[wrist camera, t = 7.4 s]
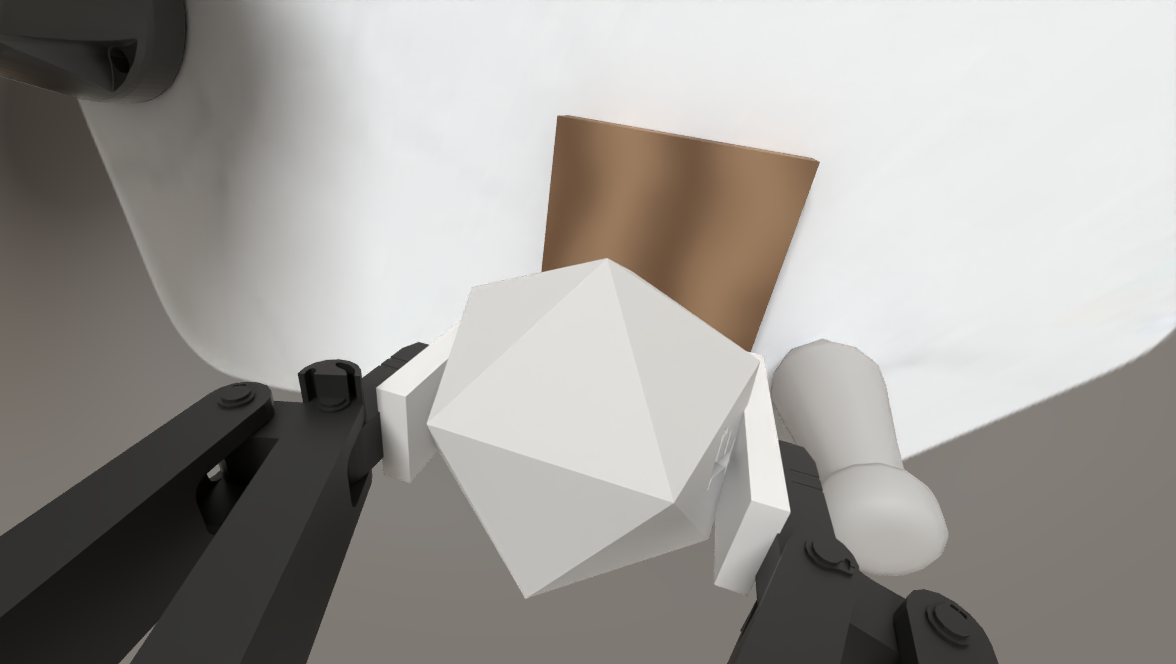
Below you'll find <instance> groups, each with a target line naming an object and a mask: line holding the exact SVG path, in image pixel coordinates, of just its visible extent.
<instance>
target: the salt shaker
mask: <svg viewBox="0 0 1176 664" xmlns="http://www.w3.org/2000/svg"><path fill="white" fill-rule="evenodd" d="M771 400H772V402H773V403H774V405H775V407H776V409H777V411H778V413H779V415H780V417H781V418H782V420H783V422H784V423H785V425H786V427H787V429H788V430H789V432H790V434H791V436H792V438H793V439H794V441H795V443H796V445H798V446H802V447H804V448H805V449H806V451H807V452H808V453H809V455H810V456H811V457H812V458H813V460H814V461H815V462H816V466H817V470H818V473H819V477H820V478H819V480H820V481H821V485H822V488H823V493H824V496H825V499H826V503H827V507H828V510H829V514H830V518H831V521H832V525H833V529H834V533H835V536H836V539H837V540H839V541H840V542H842V543H843V544H844V545H845V546H846V547H847V548H848V550H849V551H850V552H851V553H852V554H853V555H854V557H855V559H856V561H857V563H858V565H859V570H861V571H865V572H868V573H871V574H874V575H886V576H902V575H905V574H909V573H912V572H915V571H919V570H922V569H923V568H925V567H926V566H927V565H929V564H930V563H932V561H934V560H935V559H937V558H938V557H939V556H940V555H941V554H942V553H943V551H944V548H945V545H946V541H947V538H948V536H949V534H948V530H947V527H946V523H945V520H944V518H943V515H942V512H941V509H940V507H939V504H938V501H937V500H936V498H935V496H934V495H933V493H932V492H931V490H930V489H929V488H928V487H927V486H926V485H925V484H923V483H922V482H921V481H919V480H918V479H916V478H915V477H914V476H913V475H911V474H910V473H909V472H907V471H906V470H904V468H903V464H902V460H901V456H900V452H899V448H898V443H897V438H896V433H895V428H894V423H893V418H892V413H891V408H890V403H889V398H888V393H887V388H886V384H885V382H884V379H883V376H882V374H881V371H880V369H879V366H878V365H877V364H876V363H875V362H874V361H873V360H872V359H870V358H869V357H868V356H866V355H865V354H864V353H863V352H861V351H860V350H859V349H857V348H856V347H852V346H848V345H844V344H839V343H835V342H831V341H828V340H825V339H821V340H818V341H815V342H812V343H809V344H806V345H803V346H800V347H797V348H794V349H791V351H790V352H789V353H788V354H787V355H786V357H785V358H784V360H783V361H782V362H781V364H780V365H779V367H778V368H777V370H776V371H775V372H774V374H773V382H772V389H771Z"/></svg>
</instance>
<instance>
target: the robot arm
mask: <svg viewBox="0 0 1176 664" xmlns="http://www.w3.org/2000/svg"><path fill="white" fill-rule="evenodd" d="M184 45H185V10H184V2H183V0H0V76H1V77H5V78H8V79H12V80H16V81H19V82H23V83H26V84H30V85H33V86H37V87H40V88H44V89H48V90H51V91H55V92H58V93H62V94H66V95H69V96H72V97H76V98H80V99H84V100H90V101H97V102H132V103H135V102H144V101H148V100H151V99H153V98H155V97H157V96H159V95H160V94H162V93H163V92H164V91H165V90H166V89H167V88H168V87H169V86H170V84H171V83H172V81H173V80H174V78H175V76H176V74H177V72H178V70H179V67H180V64H181V61H182V56H183V52H184ZM460 322H461V320H460V321H459V322H458V323H456V324H455V325H454V326H453V327H451V328H450V329H449V330H448V331H446V332H445V333H444V334H443V335H441V336H440V337H439V338H438V339H436V340H435V341H434V342H433V343H432V344H430V345H428V344H424V343H420V342H418V343H415V344H412V345H410V346H407V347H404V348H402V349H401V350H399V351H398V352H397V353H395V354H394V355H393V356H391V358H390V359H387V360H386V361H384V362H383V363H382V364H381V366H378V367H376V368H375V369H374V370H372V371H371V372H370V373H368V374H367V375H366V376H364V377H363V378H362V375H361V369H360V368H359V366H358V365H357V364H355V363H353V362H351V361H346V360H340V359H337V360H325V361H320V362H316V363H313V364H311V365H309V366H307V367H305V368H304V369H302V370H301V371H300V372H299V373H298V377H299V383H300V388H301V393H302V399H303V403H300V402H283V401H273V397H272V392H271V390H270V389H269V387H268V386H267V385H264V384H261V383H256V382H241V383H234V384H231V385H228V386H225V387H221V388H219V389H217V390H215V391H213V392H212V393H210V394H208V395H207V396H205V397H204V398H202V399H201V400H199V401H198V402H196V403H195V404H193V405H192V406H190V407H189V408H188V409H186V410H185V411H183V412H182V413H180V414H179V415H177V416H176V417H174V418H173V419H171V420H170V421H169V422H167V423H166V424H164V425H163V426H161V427H160V428H158V429H157V430H155V431H154V432H152V433H151V434H149V435H148V436H147V437H145V438H144V439H142V440H141V441H139V442H138V443H136V444H135V445H134V446H132V447H130V448H129V449H128V450H126V451H125V452H123V453H122V454H120V455H119V456H117V457H116V458H114V459H113V460H111V461H110V462H109V463H107V464H106V465H104V466H103V467H101V468H100V469H98V470H97V471H95V472H94V473H92V474H91V475H89V476H88V477H86V478H85V479H84V480H82V481H81V482H79V483H78V484H76V485H75V486H73V487H72V488H70V489H69V490H68V491H66V492H65V493H63V494H62V495H60V496H59V497H57V498H56V499H54V500H53V501H51V502H50V503H48V504H47V505H45V506H44V507H43V508H41V509H40V510H38V511H37V512H35V513H34V514H32V515H31V516H29V517H28V518H26V519H25V520H24V521H22V522H21V523H19V524H18V525H16V526H15V527H13V528H12V529H10V530H9V531H7V532H6V533H4V534H3V535H2V536H0V664H118V663H120V662H121V660H122V659H123V658H124V657H125V656H126V655H127V654H128V653H129V652H130V651H131V650H132V649H133V647H134V646H135V645H136V644H137V643H138V642H139V641H140V640H141V639H142V637H144V636H145V634H146V633H147V632H148V631H149V630H150V629H151V628H152V627H153V626H154V625H155V624H156V623H157V624H156V625H155V627H154V628H153V630H152V631H151V633H150V634H149V636H148V637H147V639H146V640H145V642H144V643H143V645H142V646H141V648H140V649H139V651H138V653H137V654H136V655H135V657H134V658H133V660H132V661H131V663H130V664H306V663H307V660H308V657H309V654H310V652H311V649H312V646H313V643H314V640H315V638H316V635H317V632H318V630H319V627H320V624H321V621H322V618H323V615H324V613H325V610H326V607H327V604H328V602H329V599H330V596H331V594H332V591H333V588H334V585H335V583H336V580H337V577H338V574H339V571H340V568H341V566H342V563H343V560H344V558H345V555H346V552H347V549H348V547H349V544H350V541H351V538H352V536H353V533H354V530H355V527H356V525H357V522H358V519H359V516H360V513H361V511H362V508H363V505H364V502H365V500H366V497H367V494H368V491H369V489H370V486H371V483H372V468H373V467H374V466H375V465H376V464H377V463H378V462H379V461H380V460H381V459H383V471H384V475H387V476H390V477H393V478H396V479H399V480H402V481H405V482H408V483H411V482H412V480H413V479H414V478H415V477H416V476H417V475H418V473H419V472H420V471H421V469H423V467H424V466H425V465H426V464H427V462H428V461H429V460H430V459H431V458H432V456H433V455H434V454H435V453H436V452H437V450H438V448H437V446H436V444H435V442H434V439H433V437H432V435H431V433H430V430H429V428H428V426H427V421H428V418H429V415H430V412H431V409H432V406H433V403H434V400H435V397H436V394H437V391H438V388H439V385H440V382H441V379H442V376H443V373H444V370H445V367H446V364H447V361H448V358H449V355H450V352H451V349H452V346H453V343H454V340H455V337H456V334H457V331H458V328H459V325H460ZM748 353H750V352H748ZM750 354H751V355H752V356H754V357H755V358H757V359H758V360H760V364H759V368H758V371H757V375H756V378H755V382H754V385H753V389H752V392H751V396H750V399H749V402H748V405H747V407H746V408H745V410H744V413H743V416H742V420H741V423H740V427H739V430H738V434H737V437H736V441H735V444H734V448H733V451H732V455H731V458H730V462H729V465H728V469H727V472H726V476H725V479H724V483H723V486H722V490H721V493H720V497H719V500H718V504H717V507H716V511H715V541H714V542H715V543H714V585H717V586H720V587H723V588H726V589H729V590H732V591H735V592H738V593H741V594H744V595H748V594H749V592H750V590H751V588H752V586H753V585H754V583H755V581H756V592H757V600H756V602H755V604H754V606H753V608H752V610H751V612H750V614H749V616H748V617H747V619H746V621H745V623H744V625H743V627H742V629H741V634H740V636H739V639H738V641H737V643H736V645H735V648H734V650H733V653H732V655H731V656H730V659H729V661H728V663H727V664H998V661H997V658H996V656H995V653H994V650H993V647H992V645H991V643H990V641H989V639H988V637H987V635H986V633H985V632H984V630H983V628H982V627H981V626H980V625H979V624H978V623H977V622H976V620H975V619H974V618H973V617H972V616H971V615H970V614H969V613H968V612H966V611H965V610H964V609H963V608H961V607H960V606H959V605H958V604H957V603H955V602H954V601H952V600H950V599H948V598H946V597H945V596H943V595H941V594H939V593H935V592H932V591H929V590H925V589H923V590H914V591H912V592H911V593H910V594H909V596H907V598H906V599H905V598H903V597H901V596H899V595H897V594H896V593H894V592H892V591H891V590H889V589H887V588H885V587H883V586H882V585H880V584H878V583H876V582H875V581H873V580H871V579H870V578H869V577H867V576H865V575H864V574H863V573H862V572H860V571H859V565H858V563H857V561H856V559H855V557H854V555H853V554H852V553H851V552H850V551H849V550H848V548H847V547H846V546H845V545H844V544H843V543H842V542H840V541H839V540H837V539H836V536H835V533H834V529H833V525H832V521H831V518H830V514H829V510H828V507H827V503H826V499H825V496H824V493H823V488H822V485H821V481H820V480H819V478H820V477H819V473H818V470H817V466H816V462H815V461H814V460H813V458H812V457H811V456H810V455H809V453H808V452H807V451H806V449H805V448H804V447H802V446H798V445H794V444H791V443H787V442H783V441H780V440H778V437H777V431H776V426H775V420H774V414H773V409H772V403H771V397H770V391H769V386H768V380H767V374H766V369H765V363H764V357H763V355H759V354H754V353H750ZM218 463H219V466H220V471H219V472H218V473H217V474H216V475H215V476H213V477H211V478H208V476H207V473H208V472H209V471H210V470H211V469H213V468H214V467H215V466H216V465H217V464H218ZM158 620H159V621H158Z"/></svg>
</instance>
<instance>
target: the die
mask: <svg viewBox="0 0 1176 664" xmlns="http://www.w3.org/2000/svg"><path fill="white" fill-rule="evenodd" d="M759 364H760V360H758V359H757V358H755V357H754V356H752V355H751V354H750V353H748V352H747V351H745V350H744V349H742V348H741V347H740V346H738V345H737V344H735V343H734V342H732V341H731V340H730V339H728V338H727V337H725V336H724V335H722V334H721V333H720V332H718V331H717V330H715V329H714V328H712V327H711V326H710V325H708V324H707V323H705V322H704V321H702V320H701V319H700V318H698V317H697V316H695V315H694V314H692V313H691V312H689V311H688V310H687V309H685V308H684V307H682V306H681V305H679V304H678V303H677V302H675V301H674V300H672V299H671V298H669V297H668V296H667V295H665V294H664V293H662V292H661V291H659V290H658V289H657V288H655V287H654V286H652V285H651V284H649V283H648V282H647V281H645V280H644V279H642V278H641V277H639V276H638V275H637V274H635V273H634V272H632V271H631V270H629V269H627V268H625V267H623V266H621V265H619V264H617V263H615V262H613V261H612V260H610V259H608V258H605V259H601V260H596V261H591V262H587V263H582V264H577V265H573V266H568V267H564V268H559V269H554V270H550V271H545V272H540V273H536V274H531V275H526V276H522V277H517V278H513V279H508V280H503V281H499V282H494V283H489V284H485V285H480V286H475V287H472V288H471V292H470V295H469V298H468V301H467V304H466V307H465V310H464V313H463V316H462V319H461V322H460V325H459V328H458V331H457V334H456V337H455V340H454V343H453V346H452V349H451V352H450V355H449V358H448V361H447V364H446V367H445V370H444V373H443V376H442V379H441V382H440V385H439V388H438V391H437V394H436V397H435V400H434V403H433V406H432V409H431V412H430V415H429V418H428V421H427V426H428V428H429V430H430V433H431V435H432V437H433V439H434V442H435V444H436V446H437V448H438V450H439V452H440V454H441V455H442V457H443V459H444V461H445V462H446V464H447V466H448V467H449V469H450V471H451V473H452V474H453V476H454V478H455V479H456V481H457V483H458V484H459V486H460V488H461V490H462V491H463V493H464V495H465V496H466V498H467V500H468V502H469V503H470V505H471V507H472V508H473V510H474V512H475V513H476V515H477V517H478V518H479V520H480V522H481V524H482V525H483V527H484V529H485V531H486V532H487V534H488V536H489V537H490V539H491V541H492V542H493V544H494V546H495V548H496V549H497V551H498V553H499V554H500V556H501V558H502V560H503V561H504V563H505V565H506V566H507V568H508V570H509V571H510V573H511V575H512V577H513V578H514V580H515V582H516V583H517V585H518V587H519V588H520V590H521V592H522V594H523V595H524V597H525V599H526V598H529V597H532V596H536V595H539V594H542V593H545V592H548V591H551V590H554V589H557V588H560V587H563V586H566V585H569V584H573V583H576V582H579V581H582V580H585V579H588V578H591V577H594V576H597V575H601V574H603V573H607V572H609V571H613V570H616V569H619V568H622V567H625V566H628V565H631V564H635V563H638V562H641V561H644V560H647V559H650V558H653V557H656V556H659V555H662V554H665V553H669V552H672V551H675V550H678V549H681V548H684V547H687V546H690V545H693V544H696V543H699V542H702V541H706V540H708V539H709V537H710V533H711V530H712V527H713V523H714V520H715V511H716V507H717V504H718V500H719V497H720V493H721V490H722V486H723V483H724V479H725V476H726V472H727V469H728V465H729V462H730V458H731V455H732V451H733V448H734V444H735V441H736V437H737V434H738V430H739V427H740V423H741V420H742V416H743V413H744V410H745V408H746V407H747V405H748V402H749V399H750V396H751V392H752V389H753V385H754V382H755V378H756V375H757V371H758V368H759Z"/></svg>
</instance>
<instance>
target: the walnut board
mask: <svg viewBox="0 0 1176 664" xmlns="http://www.w3.org/2000/svg"><path fill="white" fill-rule="evenodd" d="M819 163H820V162H819V161H817V160H815V159H813V158H808V157H803V156H797V155H791V154H785V153H780V152H774V151H768V150H763V149H757V148H751V147H746V146H740V145H734V144H729V143H723V142H717V141H712V140H706V139H700V138H695V137H689V136H683V135H677V134H672V133H666V132H660V131H655V130H649V129H643V128H638V127H632V126H626V125H621V124H615V123H609V122H604V121H598V120H592V119H586V118H581V117H575V116H569V115H565V116H557V126H556V136H555V145H554V155H553V165H552V175H551V184H550V194H549V204H548V214H547V223H546V233H545V243H544V252H543V262H542V272H545V271H550V270H554V269H559V268H564V267H568V266H573V265H577V264H582V263H587V262H591V261H596V260H601V259H605V258H608V259H610V260H612V261H613V262H615V263H617V264H619V265H621V266H623V267H625V268H627V269H629V270H631V271H632V272H634V273H635V274H637V275H638V276H639V277H641V278H642V279H644V280H645V281H647V282H648V283H649V284H651V285H652V286H654V287H655V288H657V289H658V290H659V291H661V292H662V293H664V294H665V295H667V296H668V297H669V298H671V299H672V300H674V301H675V302H677V303H678V304H679V305H681V306H682V307H684V308H685V309H687V310H688V311H689V312H691V313H692V314H694V315H695V316H697V317H698V318H700V319H701V320H702V321H704V322H705V323H707V324H708V325H710V326H711V327H712V328H714V329H715V330H717V331H718V332H720V333H721V334H722V335H724V336H725V337H727V338H728V339H730V340H731V341H732V342H734V343H735V344H737V345H738V346H740V347H741V348H742V349H744V350H745V351H747V352H751V349H752V346H753V343H754V341H755V338H756V335H757V333H758V330H759V327H760V324H761V322H762V319H763V316H764V313H765V311H766V308H767V305H768V302H769V300H770V297H771V294H772V291H773V289H774V286H775V283H776V281H777V278H778V275H779V272H780V270H781V267H782V264H783V261H784V259H785V256H786V253H787V250H788V248H789V245H790V242H791V240H792V237H793V234H794V231H795V229H796V226H797V223H798V220H799V218H800V215H801V212H802V209H803V207H804V204H805V201H806V198H807V196H808V193H809V190H810V188H811V185H812V182H813V179H814V177H815V174H816V171H817V168H818V166H819Z"/></svg>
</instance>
